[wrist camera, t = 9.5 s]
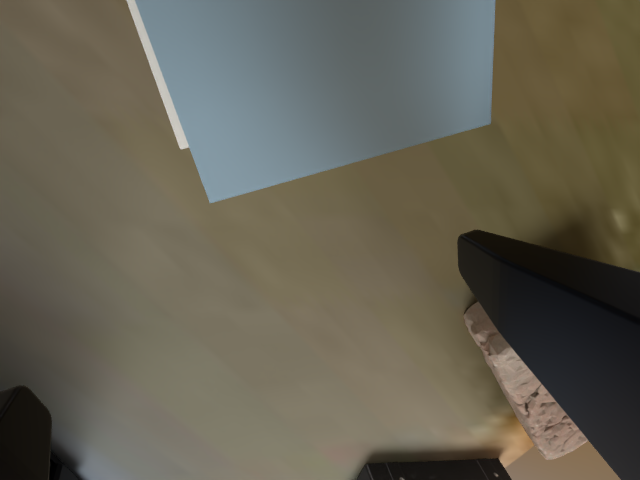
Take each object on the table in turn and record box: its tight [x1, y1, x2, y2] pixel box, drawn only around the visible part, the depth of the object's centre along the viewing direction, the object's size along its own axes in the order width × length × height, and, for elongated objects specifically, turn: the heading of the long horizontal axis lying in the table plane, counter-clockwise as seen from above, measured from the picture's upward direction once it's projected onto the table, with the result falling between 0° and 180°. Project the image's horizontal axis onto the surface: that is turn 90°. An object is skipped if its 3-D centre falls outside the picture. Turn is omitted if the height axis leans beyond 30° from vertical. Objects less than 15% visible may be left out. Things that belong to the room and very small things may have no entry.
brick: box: [464, 302, 588, 460], centre depth 32 cm, size 17×8×5 cm, turn 31°
